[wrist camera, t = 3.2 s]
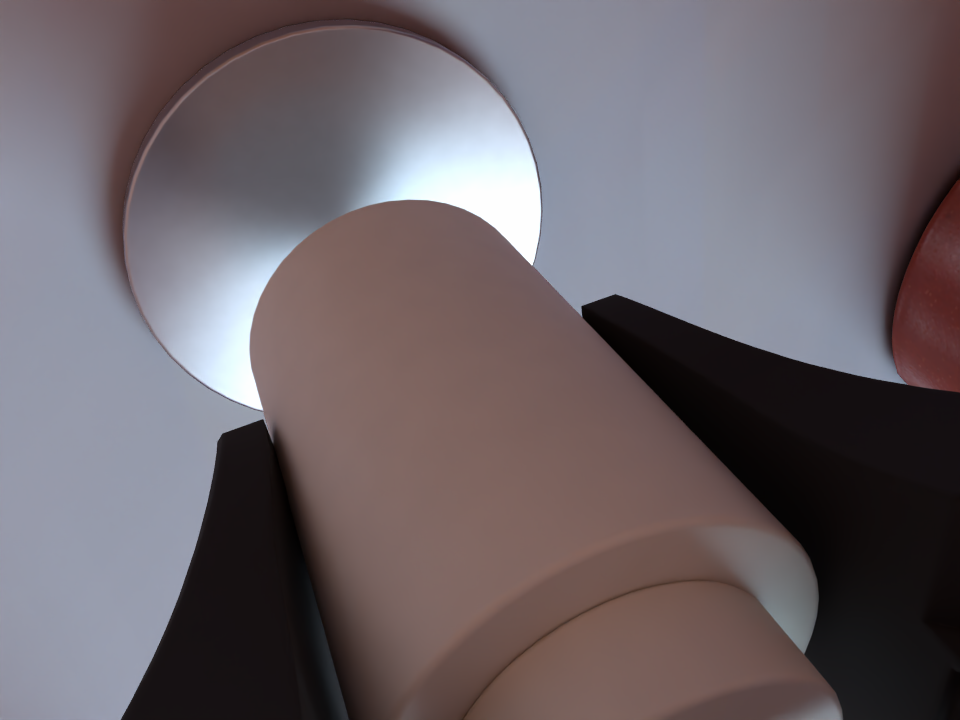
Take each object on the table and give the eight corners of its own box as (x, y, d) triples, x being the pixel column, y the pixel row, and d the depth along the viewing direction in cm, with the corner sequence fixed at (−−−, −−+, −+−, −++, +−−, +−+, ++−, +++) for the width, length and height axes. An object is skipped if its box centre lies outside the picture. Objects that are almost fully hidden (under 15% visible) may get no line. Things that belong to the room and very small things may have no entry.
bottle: (294, 487, 16) (631, 1636, 6) (205, 249, 13) (596, 1822, 3) (540, 399, 17) (1172, 1233, 7) (513, 161, 14) (1572, 1045, 4)
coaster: (213, 456, 20) (215, 472, 19) (37, 88, 14) (35, 97, 14) (550, 335, 22) (560, 347, 21) (506, -31, 16) (518, -26, 16)
